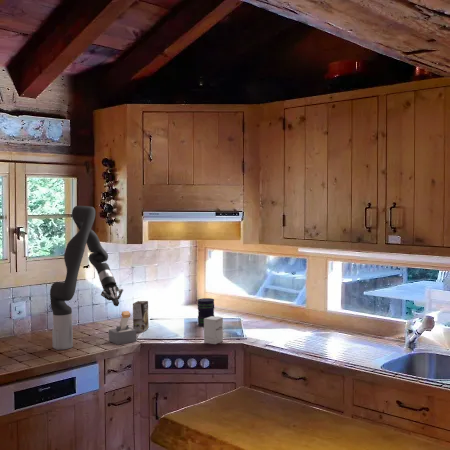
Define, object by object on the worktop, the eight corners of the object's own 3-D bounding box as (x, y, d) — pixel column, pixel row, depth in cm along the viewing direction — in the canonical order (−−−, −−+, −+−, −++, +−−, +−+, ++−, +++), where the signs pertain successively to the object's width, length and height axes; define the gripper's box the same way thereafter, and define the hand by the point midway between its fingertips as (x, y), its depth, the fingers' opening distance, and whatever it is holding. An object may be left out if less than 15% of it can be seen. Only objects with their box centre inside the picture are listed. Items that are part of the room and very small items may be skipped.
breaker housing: (109, 341, 294) (108, 325, 294) (128, 337, 300) (127, 322, 300) (117, 344, 286) (116, 329, 285) (136, 341, 292) (136, 325, 292)
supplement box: (215, 344, 283) (215, 319, 283) (203, 342, 287) (203, 318, 286) (223, 341, 289) (223, 317, 289) (211, 339, 293) (211, 315, 293)
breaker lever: (117, 327, 293) (122, 311, 288) (124, 326, 295) (128, 310, 290) (120, 331, 291) (124, 315, 286) (126, 330, 293) (130, 314, 288)
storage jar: (204, 327, 321) (204, 301, 320) (194, 324, 328) (194, 299, 328) (218, 324, 327) (217, 299, 326) (208, 322, 335) (207, 297, 334)
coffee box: (143, 332, 312) (143, 303, 311) (132, 331, 313) (132, 303, 313) (149, 328, 321) (148, 300, 320) (138, 328, 322) (137, 300, 322)
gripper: (97, 276, 300) (107, 302, 291) (120, 274, 308) (130, 299, 299) (94, 285, 305) (103, 311, 296) (116, 283, 313) (126, 308, 303)
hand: (117, 305), depth 297 cm, fingers closed
